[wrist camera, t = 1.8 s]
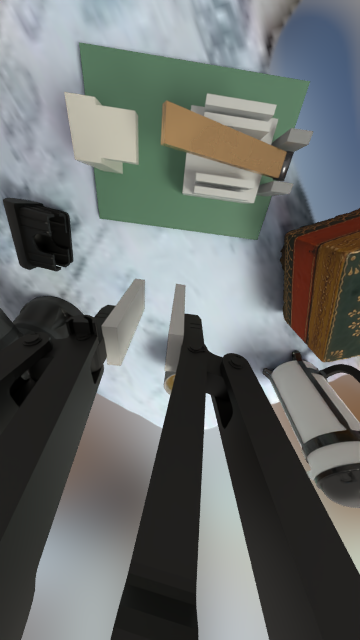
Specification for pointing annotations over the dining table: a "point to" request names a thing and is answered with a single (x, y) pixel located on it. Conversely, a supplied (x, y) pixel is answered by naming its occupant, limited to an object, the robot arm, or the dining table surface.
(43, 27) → the dining table surface
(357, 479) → the coffee press
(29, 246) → the end cap
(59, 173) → the dining table surface
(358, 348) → the decorative box
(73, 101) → the cream white stepped block
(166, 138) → the golden metal bar
